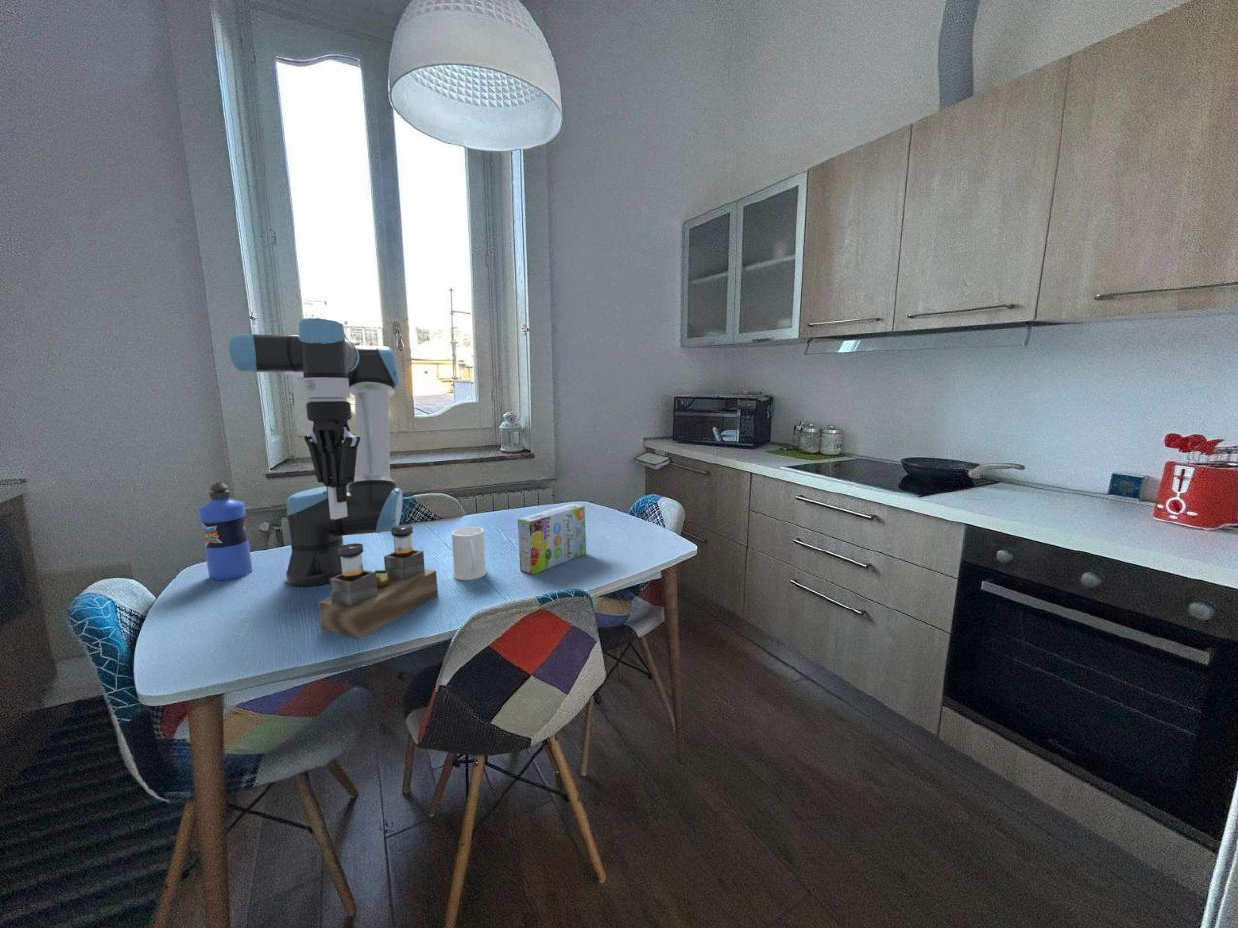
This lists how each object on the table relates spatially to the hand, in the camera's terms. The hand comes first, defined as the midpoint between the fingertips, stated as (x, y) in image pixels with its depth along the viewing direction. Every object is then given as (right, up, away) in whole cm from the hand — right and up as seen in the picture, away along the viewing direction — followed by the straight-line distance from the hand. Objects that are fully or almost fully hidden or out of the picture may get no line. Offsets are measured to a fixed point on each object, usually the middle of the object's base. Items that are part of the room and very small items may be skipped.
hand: (339, 517), depth 98 cm
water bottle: (-47, -19, +31) cm, 60 cm away
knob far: (+6, -12, +16) cm, 20 cm away
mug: (+17, -19, +30) cm, 40 cm away
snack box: (+38, -18, +40) cm, 58 cm away
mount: (+4, -22, +11) cm, 25 cm away
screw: (+4, -16, +10) cm, 19 cm away
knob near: (+1, -14, +3) cm, 14 cm away
